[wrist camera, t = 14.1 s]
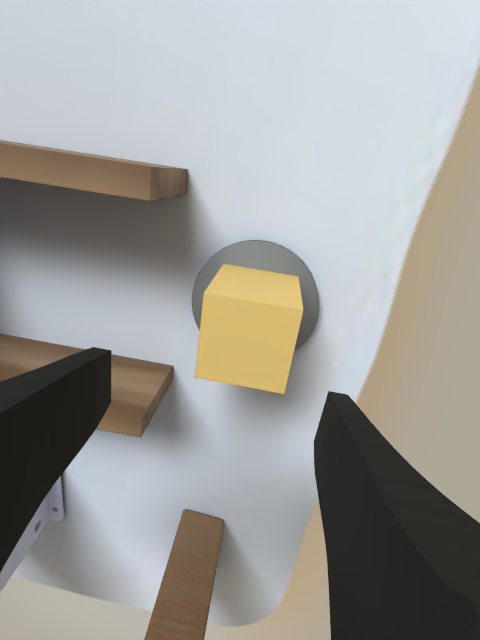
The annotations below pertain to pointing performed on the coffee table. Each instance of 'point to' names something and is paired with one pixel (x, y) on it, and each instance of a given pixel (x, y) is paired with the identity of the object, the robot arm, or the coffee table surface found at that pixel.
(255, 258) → the coaster
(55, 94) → the coffee table surface
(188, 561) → the wooden block
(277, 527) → the coffee table surface
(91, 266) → the coffee table surface
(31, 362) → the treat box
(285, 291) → the ochre block
